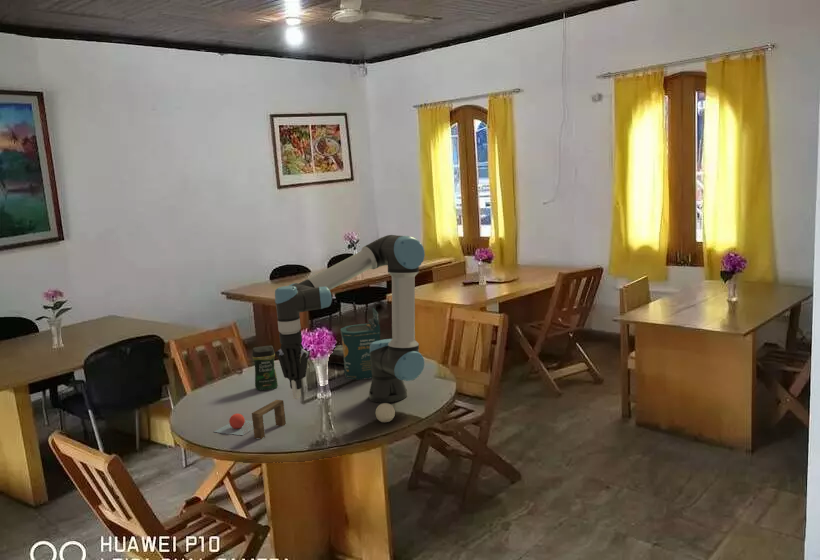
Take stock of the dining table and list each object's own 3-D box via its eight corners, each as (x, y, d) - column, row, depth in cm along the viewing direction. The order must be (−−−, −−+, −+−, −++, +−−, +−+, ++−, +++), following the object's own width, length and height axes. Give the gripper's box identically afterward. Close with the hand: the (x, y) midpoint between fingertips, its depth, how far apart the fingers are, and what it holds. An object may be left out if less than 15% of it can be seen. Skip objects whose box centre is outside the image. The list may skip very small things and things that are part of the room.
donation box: (384, 376, 307) (378, 314, 302) (347, 381, 304) (341, 318, 299) (377, 366, 322) (372, 307, 318) (343, 371, 319) (337, 311, 315)
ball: (234, 421, 259) (245, 428, 258) (224, 426, 254) (236, 433, 253) (237, 409, 258) (249, 415, 256) (228, 413, 253) (240, 420, 251)
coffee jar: (255, 392, 297) (250, 350, 294) (255, 387, 305) (251, 345, 302) (278, 389, 299) (274, 347, 296) (278, 384, 307) (273, 343, 304)
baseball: (384, 426, 246) (382, 408, 245) (373, 421, 252) (371, 404, 251) (399, 421, 250) (398, 403, 249) (388, 416, 256) (386, 399, 255)
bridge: (285, 424, 256) (283, 400, 255) (261, 439, 243) (258, 413, 242) (279, 423, 258) (276, 399, 256) (254, 438, 245) (251, 413, 243)
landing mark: (264, 422, 260) (264, 422, 259) (242, 435, 248) (242, 435, 248) (236, 419, 265) (236, 419, 265) (213, 432, 254) (213, 431, 254)
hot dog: (319, 364, 334) (318, 348, 333) (336, 358, 342) (335, 343, 341) (346, 369, 322) (344, 353, 321) (363, 363, 330) (362, 347, 329)
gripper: (312, 329, 239) (318, 395, 243) (280, 328, 245) (288, 392, 249) (299, 334, 233) (306, 402, 237) (267, 333, 238) (275, 399, 242)
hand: (297, 397), depth 243 cm, fingers closed
